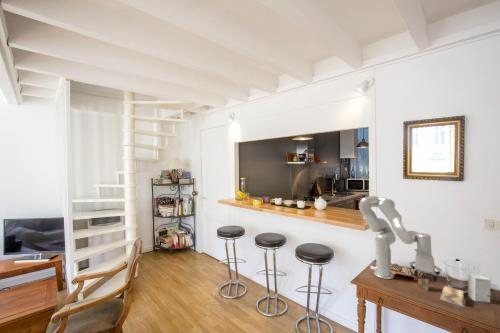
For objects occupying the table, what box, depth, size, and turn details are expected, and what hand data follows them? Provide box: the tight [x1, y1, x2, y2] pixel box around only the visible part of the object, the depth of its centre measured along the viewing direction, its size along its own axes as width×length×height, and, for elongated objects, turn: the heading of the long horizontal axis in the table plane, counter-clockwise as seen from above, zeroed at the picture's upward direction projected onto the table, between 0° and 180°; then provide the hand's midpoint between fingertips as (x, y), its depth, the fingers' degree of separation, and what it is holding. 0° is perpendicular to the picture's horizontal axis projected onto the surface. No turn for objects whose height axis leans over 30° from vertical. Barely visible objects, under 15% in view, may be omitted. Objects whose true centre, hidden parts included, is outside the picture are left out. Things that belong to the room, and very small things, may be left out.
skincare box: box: [467, 273, 492, 303], centre depth 142 cm, size 8×6×15 cm
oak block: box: [441, 285, 465, 306], centre depth 142 cm, size 9×9×5 cm
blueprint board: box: [439, 294, 467, 308], centre depth 142 cm, size 20×14×1 cm
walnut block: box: [417, 276, 430, 292], centre depth 155 cm, size 5×5×7 cm
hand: (425, 278), depth 154 cm, fingers open, 9 cm apart
